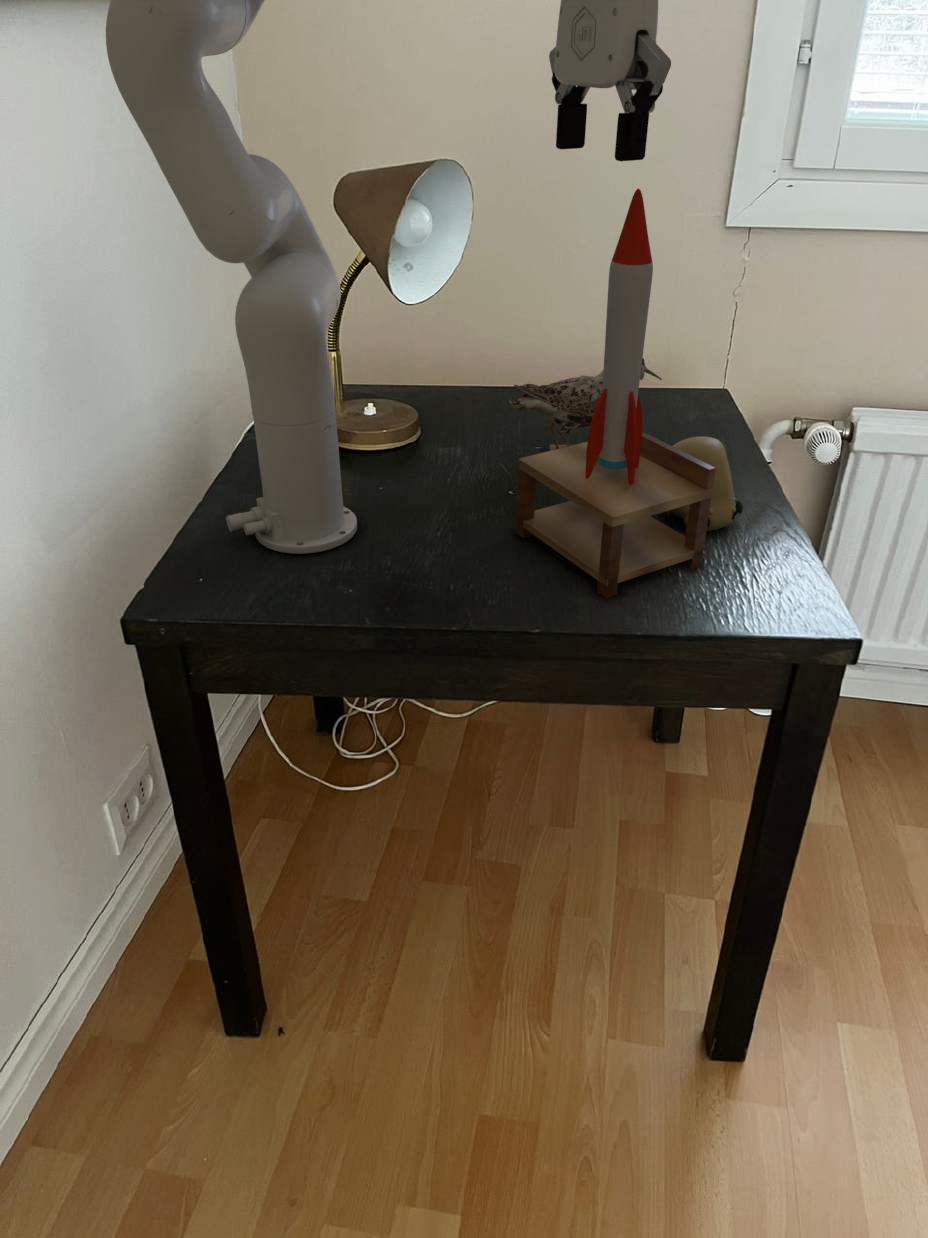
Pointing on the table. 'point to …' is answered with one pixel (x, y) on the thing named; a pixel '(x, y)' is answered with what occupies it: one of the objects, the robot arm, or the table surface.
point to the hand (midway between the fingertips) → (598, 153)
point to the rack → (617, 510)
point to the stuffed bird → (566, 401)
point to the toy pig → (722, 498)
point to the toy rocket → (623, 350)
